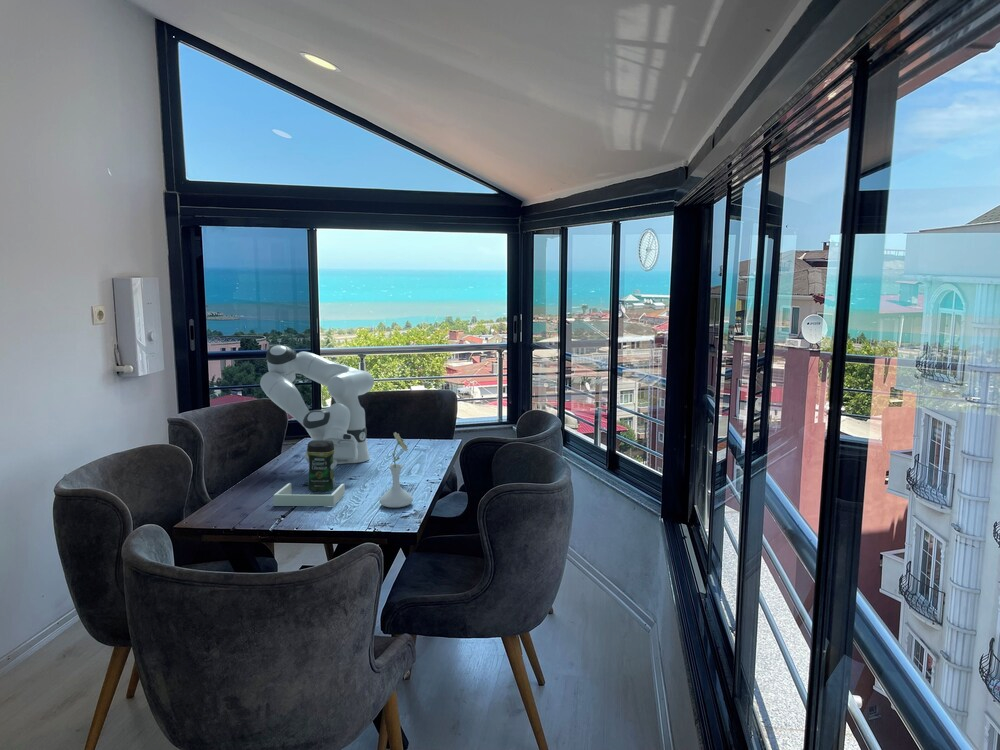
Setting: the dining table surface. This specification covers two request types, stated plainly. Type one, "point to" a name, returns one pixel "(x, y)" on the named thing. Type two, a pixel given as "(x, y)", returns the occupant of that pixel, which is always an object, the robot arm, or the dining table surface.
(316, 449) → the coffee jar
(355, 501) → the dining table surface
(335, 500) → the report bay
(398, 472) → the flower in vase
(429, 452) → the dining table surface
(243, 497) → the dining table surface
